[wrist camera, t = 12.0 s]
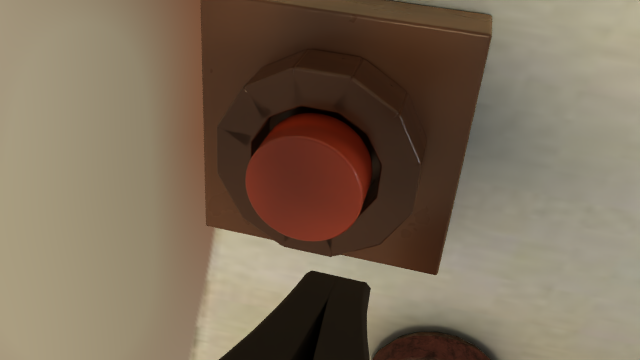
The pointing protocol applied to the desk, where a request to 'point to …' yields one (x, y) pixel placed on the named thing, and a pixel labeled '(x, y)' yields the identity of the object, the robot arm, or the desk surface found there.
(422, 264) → the button block
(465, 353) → the can
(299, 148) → the button
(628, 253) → the desk surface
